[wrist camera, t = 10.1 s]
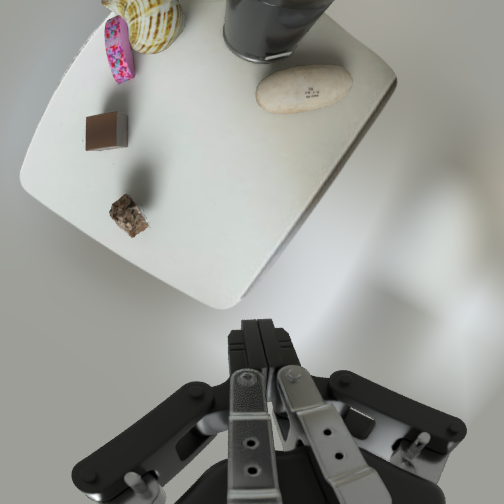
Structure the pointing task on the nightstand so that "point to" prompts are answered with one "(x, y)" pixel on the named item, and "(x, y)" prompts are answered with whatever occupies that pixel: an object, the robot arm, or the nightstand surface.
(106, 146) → the brown cube block
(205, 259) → the nightstand surface
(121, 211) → the rock
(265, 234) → the nightstand surface
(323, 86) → the stone
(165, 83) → the nightstand surface
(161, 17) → the seashell
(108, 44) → the headband
